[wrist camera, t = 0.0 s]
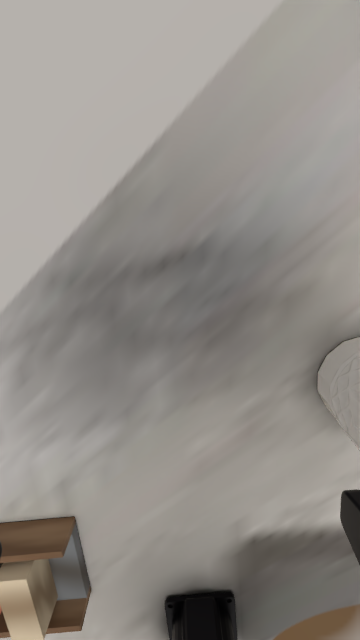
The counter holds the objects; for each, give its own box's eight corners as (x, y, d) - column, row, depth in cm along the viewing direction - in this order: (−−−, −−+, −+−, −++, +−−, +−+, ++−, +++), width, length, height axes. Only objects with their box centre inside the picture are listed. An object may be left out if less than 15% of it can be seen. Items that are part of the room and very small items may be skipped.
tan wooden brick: (58, 596, 27) (43, 639, 24) (30, 598, 27) (12, 642, 24) (43, 540, 25) (25, 579, 22) (13, 542, 25) (-8, 582, 22)
